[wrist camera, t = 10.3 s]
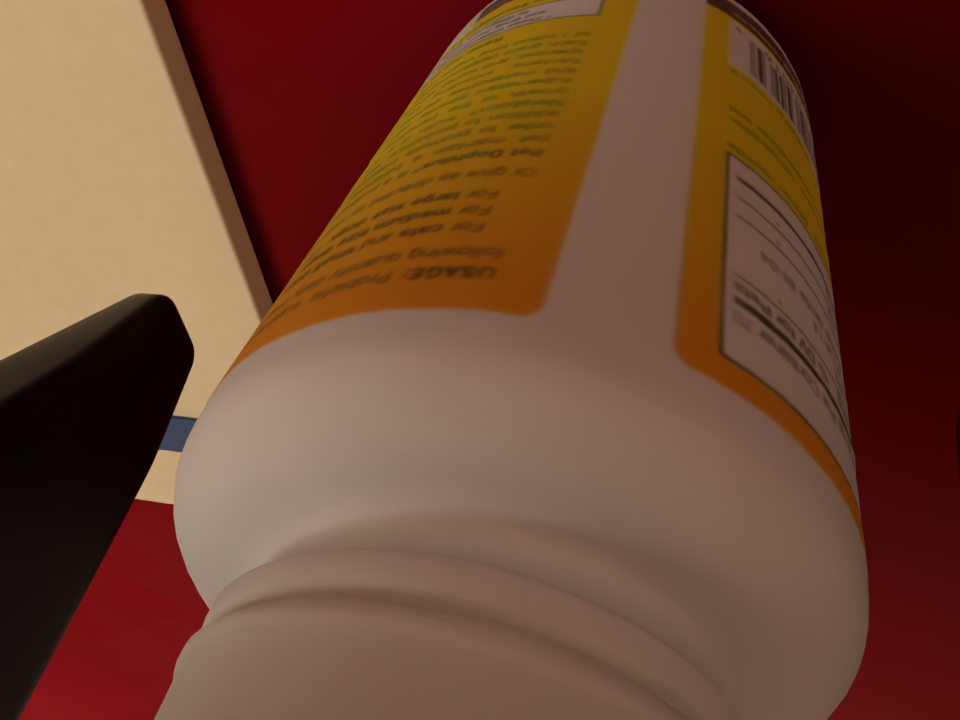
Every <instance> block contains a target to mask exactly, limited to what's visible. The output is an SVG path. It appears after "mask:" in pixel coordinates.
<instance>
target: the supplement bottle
mask: <svg viewBox="0 0 960 720" xmlns="http://www.w3.org/2000/svg"><path fill="white" fill-rule="evenodd" d="M174 522H175V529H176V536H177V541H178V544H179V547H180V550H181V553H182V556H183V559H184V562H185V565H186V568H187V571H188V573H189V575H190V576H191V578H192V580H193V582H194V584H195V586H196V588H197V590H198V592H199V593H200V595H201V597H202V599H203V600H204V602H205V603H206V605H207V606H208V608H209V609H210V610H209V612H208V614H207V616H206V618H205V621H204V624H203V626H202V628H201V629H200V630H199V631H197V632H196V633H195V634H193V635H192V636H191V638H190V639H189V640H188V641H187V643H186V645H185V646H184V648H183V650H182V652H181V654H180V656H179V657H178V659H177V662H176V666H175V670H174V677H173V682H172V684H171V686H170V688H169V690H168V692H167V694H166V696H165V698H164V700H163V703H162V705H161V707H160V709H159V711H158V713H157V715H156V717H155V719H154V720H827V719H828V718H829V716H830V715H831V714H832V713H833V711H834V710H835V709H836V708H837V706H838V705H839V704H840V703H841V701H842V700H843V699H844V698H845V696H846V694H847V692H848V690H849V688H850V686H851V685H852V683H853V681H854V679H855V677H856V674H857V672H858V670H859V668H860V664H861V661H862V657H863V654H864V650H865V644H866V638H867V632H868V615H869V595H868V573H867V561H866V549H865V542H864V535H863V529H862V522H861V515H860V506H859V497H858V489H857V481H856V468H855V454H854V450H853V446H852V442H851V433H850V425H849V416H848V408H847V401H846V394H845V386H844V379H843V371H842V363H841V355H840V347H839V339H838V332H837V324H836V316H835V308H834V299H833V290H832V283H831V276H830V270H829V259H828V254H827V248H826V240H825V232H824V223H823V214H822V206H821V199H820V188H819V181H818V175H817V168H816V161H815V153H814V145H813V137H812V131H811V125H810V118H809V114H808V109H807V105H806V100H805V97H804V94H803V91H802V88H801V85H800V82H799V80H798V77H797V75H796V73H795V71H794V69H793V67H792V65H791V64H790V62H789V60H788V58H787V56H786V54H785V53H784V51H783V50H782V48H781V47H780V45H779V44H778V43H777V41H776V40H775V39H774V38H773V36H772V35H771V34H770V33H769V32H768V30H767V29H766V28H765V27H764V26H763V25H762V24H761V23H760V22H759V21H758V20H757V19H756V18H755V17H754V16H753V15H752V14H751V13H750V12H749V11H747V10H746V9H745V8H744V7H742V6H741V5H740V4H739V3H737V2H736V1H734V0H494V1H493V2H491V3H490V4H489V5H488V6H486V7H485V8H484V9H483V10H482V11H480V12H479V13H478V14H477V15H476V16H475V17H474V18H473V19H472V20H471V21H470V22H469V23H468V24H467V25H466V26H465V27H464V28H463V30H462V31H461V32H460V33H459V34H458V35H457V37H456V38H455V39H454V40H453V42H452V43H451V44H450V46H449V47H448V48H447V50H446V51H445V52H444V54H443V55H442V57H441V58H440V60H439V61H438V63H437V64H436V66H435V67H434V69H433V70H432V72H431V73H430V75H429V76H428V78H427V79H426V81H425V82H424V84H423V85H422V87H421V88H420V90H419V91H418V93H417V94H416V96H415V97H414V98H413V100H412V101H411V103H410V104H409V106H408V107H407V109H406V110H405V112H404V113H403V115H402V116H401V118H400V119H399V120H398V122H397V123H396V125H395V126H394V128H393V129H392V131H391V132H390V134H389V135H388V137H387V138H386V139H385V141H384V142H383V144H382V145H381V147H380V148H379V150H378V151H377V153H376V154H375V156H374V157H373V158H372V160H371V162H370V163H369V165H368V167H367V168H366V169H365V171H364V172H363V174H362V175H361V177H360V178H359V180H358V181H357V182H356V184H355V185H354V187H353V188H352V190H351V191H350V193H349V194H348V196H347V197H346V199H345V200H344V202H343V203H342V205H341V206H340V208H339V209H338V211H337V212H336V214H335V215H334V217H333V218H332V219H331V221H330V222H329V224H328V225H327V227H326V228H325V230H324V231H323V233H322V234H321V236H320V237H319V239H318V240H317V241H316V243H315V244H314V246H313V247H312V249H311V250H310V252H309V253H308V255H307V256H306V258H305V259H304V261H303V262H302V263H301V265H300V266H299V268H298V269H297V271H296V272H295V274H294V275H293V277H292V278H291V280H290V281H289V282H288V284H287V285H286V287H285V288H284V290H283V291H282V293H281V294H280V295H279V297H278V298H277V300H276V301H275V303H274V304H273V306H272V307H271V308H270V310H269V311H268V313H267V314H266V316H265V317H264V319H263V320H262V321H261V323H260V324H259V326H258V327H257V329H256V330H255V332H254V333H253V335H252V336H251V337H250V339H249V340H248V342H247V343H246V345H245V346H244V348H243V349H242V351H241V352H240V354H239V355H238V356H237V358H236V359H235V361H234V362H233V364H232V365H231V367H230V368H229V370H228V371H227V372H226V374H225V375H224V377H223V378H222V380H221V381H220V383H219V384H218V386H217V387H216V389H215V390H214V391H213V393H212V394H211V396H210V398H209V400H208V402H207V404H206V406H205V408H204V409H203V411H202V412H201V414H200V416H199V417H198V419H197V420H196V422H195V424H194V426H193V428H192V430H191V432H190V434H189V436H188V438H187V440H186V443H185V446H184V448H183V451H182V453H181V456H180V459H179V463H178V467H177V473H176V479H175V488H174Z"/></svg>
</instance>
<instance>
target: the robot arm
mask: <svg viewBox="0 0 960 720" xmlns="http://www.w3.org/2000/svg"><path fill="white" fill-rule="evenodd" d="M193 362H194V345H193V343H192V340H191V338H190V336H189V334H188V331H187V329H186V327H185V325H184V323H183V320H182V318H181V316H180V314H179V312H178V309H177V307H176V305H175V303H174V302H173V301H172V300H171V299H170V298H169V297H168V296H165V295H161V294H147V293H138V294H133V295H131V296H129V297H127V298H125V299H123V300H121V301H119V302H117V303H115V304H113V305H111V306H109V307H107V308H105V309H103V310H101V311H99V312H97V313H95V314H93V315H91V316H89V317H87V318H85V319H83V320H81V321H79V322H77V323H75V324H72V325H70V326H68V327H66V328H64V329H62V330H60V331H58V332H56V333H54V334H52V335H50V336H48V337H46V338H44V339H42V340H40V341H38V342H36V343H34V344H32V345H30V346H28V347H26V348H24V349H22V350H20V351H18V352H16V353H14V354H12V355H10V356H8V357H6V358H4V359H2V360H0V720H19V718H20V716H21V714H22V712H23V710H24V708H25V706H26V704H27V703H28V701H29V699H30V697H31V695H32V693H33V691H34V689H35V687H36V685H37V684H38V682H39V680H40V678H41V676H42V674H43V672H44V670H45V668H46V666H47V665H48V663H49V661H50V659H51V657H52V655H53V653H54V651H55V649H56V647H57V646H58V644H59V642H60V640H61V638H62V636H63V634H64V632H65V630H66V629H67V627H68V625H69V623H70V621H71V619H72V617H73V615H74V613H75V611H76V610H77V608H78V606H79V604H80V602H81V600H82V598H83V596H84V594H85V592H86V591H87V589H88V587H89V585H90V583H91V581H92V579H93V577H94V575H95V573H96V572H97V570H98V568H99V566H100V564H101V562H102V560H103V558H104V556H105V554H106V553H107V551H108V549H109V547H110V545H111V543H112V541H113V539H114V537H115V536H116V534H117V532H118V530H119V528H120V526H121V524H122V522H123V520H124V518H125V517H126V515H127V513H128V511H129V509H130V507H131V505H132V503H133V501H134V499H135V498H136V496H137V494H138V492H139V490H140V488H141V486H142V484H143V482H144V480H145V478H146V476H147V474H148V472H149V470H150V468H151V466H152V464H153V462H154V460H155V457H156V455H157V453H158V450H159V448H160V446H161V443H162V441H163V438H164V436H165V433H166V431H167V428H168V426H169V423H170V421H171V418H172V416H173V413H174V411H175V408H176V406H177V403H178V401H179V398H180V396H181V393H182V391H183V388H184V386H185V383H186V381H187V378H188V376H189V373H190V371H191V368H192V366H193ZM956 439H957V452H958V465H959V478H960V411H959V415H958V419H957V426H956Z"/></svg>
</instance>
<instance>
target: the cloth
mask: <svg viewBox="0 0 960 720" xmlns="http://www.w3.org/2000/svg"><path fill="white" fill-rule="evenodd" d="M138 293H147V294H161V295H165V296H168V297H169V298H170V299H171V300H172V301H173V302H174V303H175V305H176V307H177V309H178V312H179V314H180V316H181V318H182V320H183V323H184V325H185V327H186V329H187V331H188V334H189V336H190V338H191V340H192V343H193V345H194V362H193V366H192V368H191V371H190V373H189V376H188V378H187V381H186V383H185V386H184V388H183V391H182V393H181V396H180V398H179V401H178V403H177V406H176V408H175V411H174V413H173V416H172V418H171V421H170V423H169V426H168V428H167V431H166V433H165V436H164V438H163V441H162V443H161V446H160V448H159V450H158V453H157V455H156V457H155V460H154V462H153V464H152V466H151V468H150V470H149V472H148V474H147V476H146V478H145V480H144V482H143V484H142V486H141V488H140V490H139V492H138V494H137V496H136V498H135V499H141V500H148V501H155V502H161V503H168V504H174V488H175V479H176V473H177V467H178V463H179V459H180V456H181V453H182V451H183V448H184V446H185V443H186V440H187V438H188V436H189V434H190V432H191V430H192V428H193V426H194V424H195V422H196V420H197V419H198V417H199V416H200V414H201V412H202V411H203V409H204V408H205V406H206V404H207V402H208V400H209V398H210V396H211V394H212V393H213V391H214V390H215V389H216V387H217V386H218V384H219V383H220V381H221V380H222V378H223V377H224V375H225V374H226V372H227V371H228V370H229V368H230V367H231V365H232V364H233V362H234V361H235V359H236V358H237V356H238V355H239V354H240V352H241V351H242V349H243V348H244V346H245V345H246V343H247V342H248V340H249V339H250V337H251V336H252V335H253V333H254V332H255V330H256V329H257V327H258V326H259V324H260V323H261V321H262V320H263V319H264V317H265V316H266V314H267V313H268V311H269V310H270V308H271V307H272V306H273V303H272V300H271V297H270V294H269V291H268V289H267V286H266V283H265V280H264V277H263V275H262V272H261V269H260V266H259V263H258V260H257V258H256V255H255V252H254V249H253V246H252V244H251V241H250V238H249V235H248V232H247V229H246V227H245V224H244V221H243V218H242V215H241V213H240V210H239V207H238V204H237V201H236V199H235V196H234V193H233V190H232V187H231V184H230V182H229V179H228V176H227V173H226V170H225V168H224V165H223V162H222V159H221V156H220V154H219V151H218V148H217V145H216V142H215V139H214V137H213V134H212V131H211V128H210V125H209V123H208V120H207V117H206V114H205V111H204V109H203V106H202V103H201V100H200V97H199V94H198V92H197V89H196V86H195V83H194V80H193V78H192V75H191V72H190V69H189V66H188V63H187V61H186V58H185V55H184V52H183V49H182V47H181V44H180V41H179V38H178V35H177V33H176V30H175V27H174V24H173V21H172V18H171V16H170V13H169V10H168V7H167V4H166V2H165V0H0V360H2V359H4V358H6V357H8V356H10V355H12V354H14V353H16V352H18V351H20V350H22V349H24V348H26V347H28V346H30V345H32V344H34V343H36V342H38V341H40V340H42V339H44V338H46V337H48V336H50V335H52V334H54V333H56V332H58V331H60V330H62V329H64V328H66V327H68V326H70V325H72V324H75V323H77V322H79V321H81V320H83V319H85V318H87V317H89V316H91V315H93V314H95V313H97V312H99V311H101V310H103V309H105V308H107V307H109V306H111V305H113V304H115V303H117V302H119V301H121V300H123V299H125V298H127V297H129V296H131V295H133V294H138Z"/></svg>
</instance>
